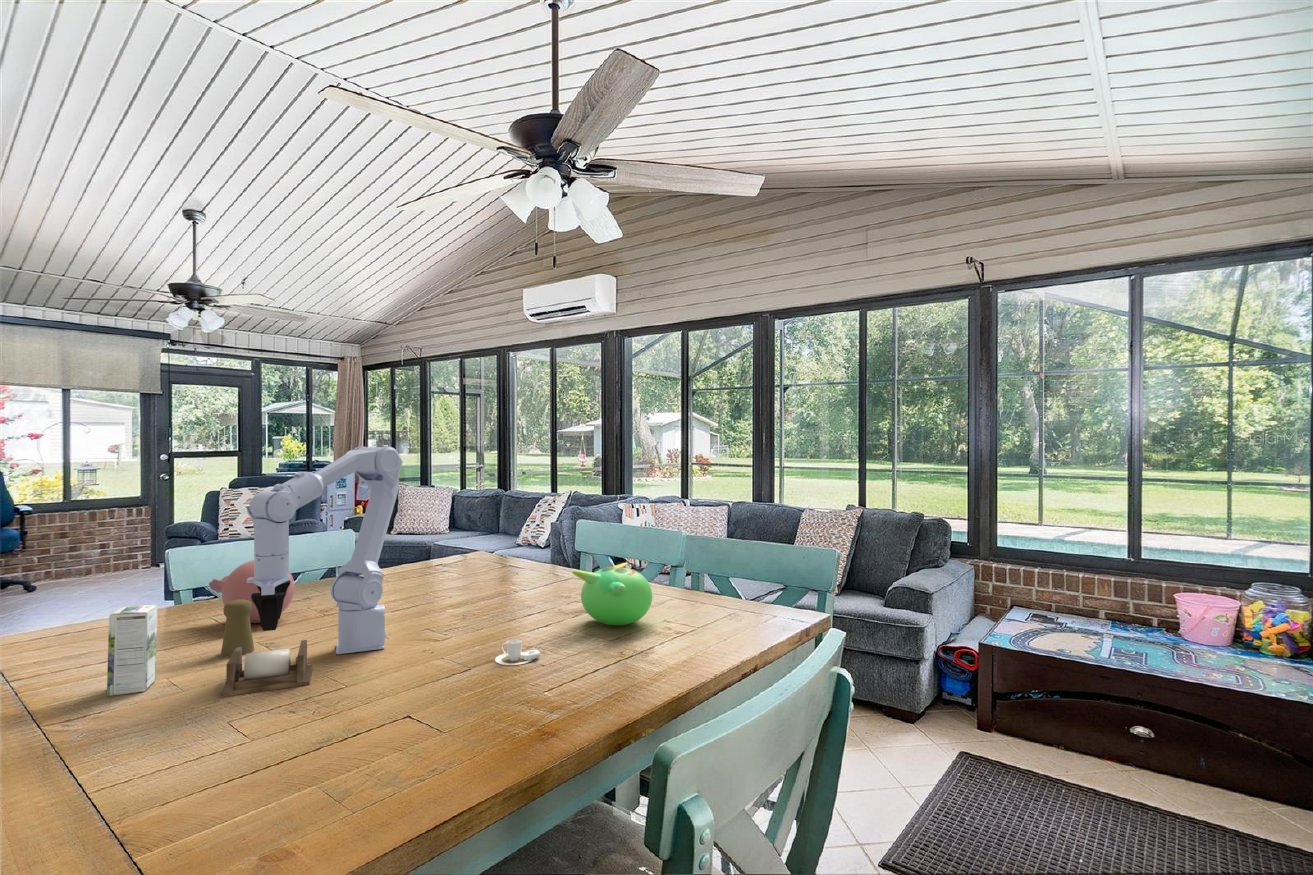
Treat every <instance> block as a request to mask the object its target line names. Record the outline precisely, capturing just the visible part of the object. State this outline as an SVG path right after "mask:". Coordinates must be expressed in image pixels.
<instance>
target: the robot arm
mask: <svg viewBox="0 0 1313 875" xmlns="http://www.w3.org/2000/svg"><path fill="white" fill-rule="evenodd" d="M402 466H403V460H402V457H401V456H400V454H399V452H398V451H397V450H396V449H395V448H394V447H392V446H383V447H382V446H379V447H378V446H376V447H374V446H364V445H363V446H357V447H355V448H354V449H351V450H348V451H346V453H345V454H343V456H341V457H339V458H337V459H336V460H334V461H332V462H330V463H329V464H327V465H326V466H324V467H322V468H321V469H319V470H318V471H316V472H315V473H314V472H311V471H310V472H309V471H298V472H295V473H294V474H293V475H294V477H293V478H291V479H289V480H287V481H285V482H283V483H277V484H274V485H273V486H272V487H273V488H272V489H271V490H269V491H267V490H263V491H260V492H258V493H255V495H253V497H252V498H251V500H250V502H249V505H248V506H246V512H247V514H248V516H249V517H250V518H251V520H252V527H253V528H254V529H253V534H254V535H253V538H254V542H253V544H254V545H253V546H254V548H253V550H254V551H253V552H254V553H253V555H254V556H253V558H254V559H253V560H254V577H252V578H248V579H247V583H254V584H256V585H258V586H257V588H258V589H259V591H260V593H252V595H251V599H252V601H253V602H254V604H255V606H256V608H257V610H258V613H259V617H260V622H261V623H260V626H261V628H262V631H263V632H269V631H276V630H277V627H278V624H279V620H281V619H280V618H281V616H282V613H283V612H282V607H283V601H284V598H285V596H286V594H287V592H286V591H287V589H288V587H289V585H290V581H289V580H290V575H289V572H290V568H289V567H290V566H289V565H290V553H289V552H290V534H289V533H290V532H289V531H290V530H289V528H290V527H289V526H290V520H291V519H293V517H294V515H295V514H296V511H297V510H299V509H300V508H302V507H304V506H305V505H307V504H309V503H311V502H312V501H314V500H316V499H318V498H319V497H321V496H322V495H323V494H324V493H323V492H324V489H325V487H328V486H329V485H331V484H334V483H335V482H337V481H340V480H341V479H343V478H345V477H347V476H350V475H351V474H353V473H354V474H356V475H357V477H359V478H360V479H361V480H362V481H363V482H364V483H365V484H366V485H367V486H368V488H369V489H370V491H371V492H370V495H369V498H368V502H367V504H366V505H367V506H366V508H365V511H364V512H365V513H364V516H363V519H362V522H361V526H360V529H359V532H358V535H357V539H356V542H355V545H354V547H353V549H354V550H353V552H352V556H351V558H350V560H349V561H347V562H346V563H345V564H344V565H343V566H341V567H340V570H339V573H338V575H337V576H336V578H335V579H334V580H333V582H332V584H331V587H330V595H331V598H332V599H333V601H335V602H336V607H338V628H337V629H338V636H337V637H338V640H337V642H336V648H335V655H344V654H353V653H360V652H368V651H369V652H370V651H375V650H377V651H378V650H383V649H385V648H386V645H385V641H386V640H385V639H386V638H387V629H386V628H385V627H386V619H385V618H386V617H385V615H386V614H385V612H386V611H385V610H386V609H385V604H378V603H379V602H380V601H381V599H382V596H383V593H384V592H383V591H384V587H383V585H384V584H383V583H384V582H383V581H384V576H385V574H384V572H383V571H382V569H381V568H380V566H379V564H378V563H379V560H380V557H381V553H382V550H383V546H384V542H385V539H386V535H387V532H388V528H389V525H390V521H391V518H392V515H393V511H394V507H395V505H396V500H397V498H398V493H399V489H400V474H401V469H402ZM361 575H362V576H361ZM281 612H282V613H281Z"/></svg>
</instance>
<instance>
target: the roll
mask: <svg viewBox="0 0 1313 875" xmlns="http://www.w3.org/2000/svg"><path fill="white" fill-rule="evenodd" d="M291 654H292V653H291V648H284V649H282V648H281V649H275V650H266V651H256V652H251V653H247V654H246V655H244V656H245V657H244V664H243V670H244V680H245V681H248V680H256V679H264V678H271V677H279V676H287V675H290V665H291V664H292V662H291V660H292V658H291Z"/></svg>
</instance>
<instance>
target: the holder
mask: <svg viewBox="0 0 1313 875" xmlns="http://www.w3.org/2000/svg"><path fill="white" fill-rule="evenodd" d="M313 666H314V665H313V664H308V639H303V640H300V644H299V648H298V652H297V656H295V663H291V665H290V675H287V676H279V677H271V678H264V679H256V680H248V681H245V680H244V669H243V655H242V647H238V648H235V650H234V652H233V654H232V655H231V657H229V659H228V661H227V663H226V668H225V669H226V674H225V675H226V676H225V677H226V678H225V679H226V681H225V683H224V685H223V686H222V688H221V690H220V692H219V698H221V697H228V696H229V697H230V696H237V695H244V694H250V693H258V692H259V693H260V692H267V691H272V690H281V689H287V688H288V689H289V688H295V687H300V686H301V687H302V686H309V685H310V684H311V679H312V674H313Z"/></svg>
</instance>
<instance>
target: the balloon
mask: <svg viewBox="0 0 1313 875" xmlns="http://www.w3.org/2000/svg"><path fill="white" fill-rule="evenodd" d="M289 575H290V580H289V581H290V585H289V587H288V589H287V591H286V592H287V594H286V596H285V598H284V601H283V607H282V612H281V614H282V613H283V612H284V611H285V610H286V609H287V608H288V607H289V606H290V604H291V602H292V600H293V597H294V594H295V588H296V587H295V581H294V577H293V575H292V573H291V572H290V571H289ZM252 577H254V559H253V560H249V561H247V562H245V563H242V564H241V565H239V566H237V567H236V568H234V570H232V572H231V573H230V574H228V575H226V576H224V577H223V578H221V579H219V578H213V579H212V580H211V581H209V582H208V588H210V590H212V591H214V592H215V593H221V600H222V604H223V607H224V606H225V604H226V603H228V602H230V601H233V600H241V599H243V600H249V601H250V602H251V603H252V611H251V613H250V614H249V618H250V624H258V623H259V624H261V622H260V617H259V613H258V610H257V608H256V606H255V604H254V602H253V601H252V599H251V595H252V593H260V591H259V589H258V588H257V586H258V585H256V584H254V583H247V579H248V578H252Z"/></svg>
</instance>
